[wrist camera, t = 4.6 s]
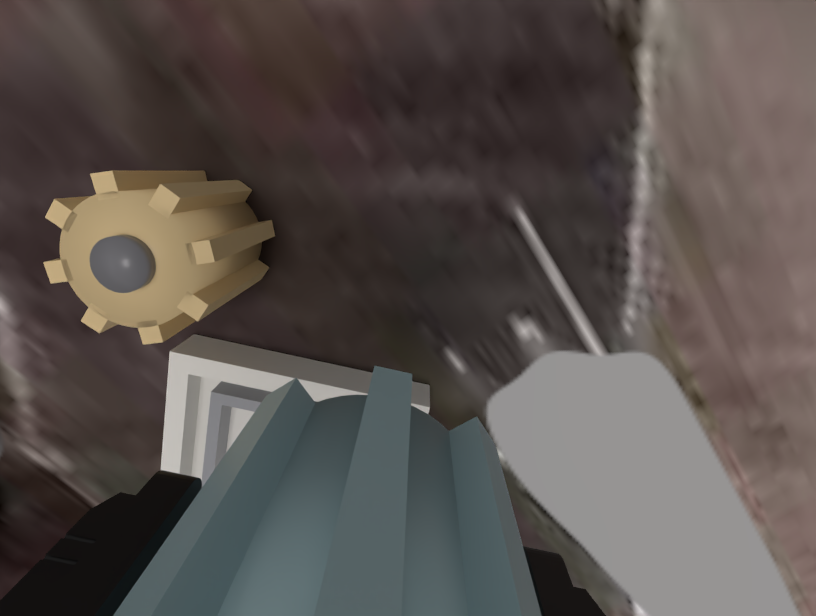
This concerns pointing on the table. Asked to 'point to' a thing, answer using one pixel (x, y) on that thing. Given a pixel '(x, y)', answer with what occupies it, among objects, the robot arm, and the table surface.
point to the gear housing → (239, 396)
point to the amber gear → (157, 249)
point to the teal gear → (345, 518)
